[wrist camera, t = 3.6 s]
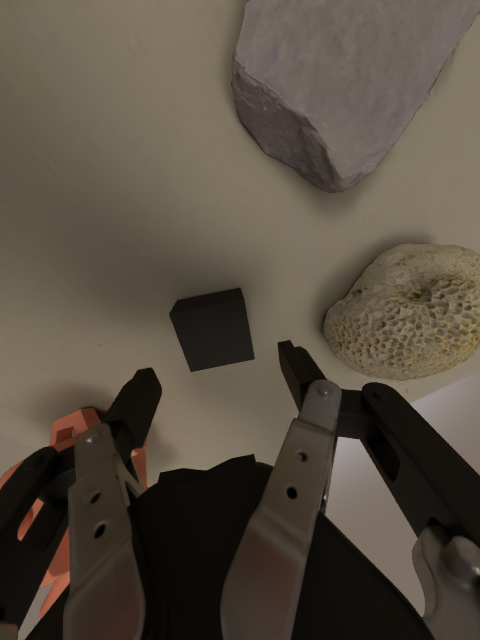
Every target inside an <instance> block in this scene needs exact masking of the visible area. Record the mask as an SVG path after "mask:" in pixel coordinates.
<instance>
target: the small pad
mask: <svg viewBox="0 0 480 640" xmlns="http://www.w3.org/2000/svg"><path fill="white" fill-rule="evenodd" d="M169 315H170V318H171V321H172V323H173V326H174V329H175V331H176V334H177V337H178V339H179V342H180V345H181V347H182V350H183V353H184V355H185V358H186V360H187V363H188V366H189V368H190V371H191V372H194V371H198V370H203V369H208V368H213V367H218V366H223V365H228V364H233V363H238V362H243V361H248V360H253V359H255V358H254V352H253V347H252V341H251V335H250V329H249V324H248V318H247V312H246V307H245V301H244V297H243V294H242V291H241V288H235V289H230V290H225V291H220V292H215V293H210V294H205V295H200V296H195V297H190V298H185V299H180V300H177V301H176V303H175V305H174V306H173V308H172V310H171V311H170V313H169Z"/></svg>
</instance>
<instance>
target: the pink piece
mask: <svg viewBox="0 0 480 640" xmlns="http://www.w3.org/2000/svg"><path fill="white" fill-rule="evenodd" d="M100 423H101V422H100V420H99V418H98V416H97V413H96V411H95V409H94V408H87V409H79V410H77V411H75V412H73V413H71V414H69V415H67V416H65V417H63V418H61V419H59V420H57V421H54V422H53V425H52V432H51V439H50V446H53V447H54V448H55V449H56V450H57V451H58V452H59V451H61V450H63V449H65V448H68V447H70V446H72V445H74V444H76V442H77V440H78V439H79V437H80V436H81V435H82V434H83V433H84V432H85V431H87V430H88V429H89V428H91V427H93V426H95V425H97V424H100ZM72 428H74V429H75V432H76V435H77V436H75V437H72ZM145 446H146V440H145V442H144V445H143V448H139V449H134V450H133V451H132V454H131V456H132V458H133V460H134V463H135V466H136V468H137V471H138V474H139V477H140V480H141V482H142V485H143V488H144V490H145V491H146V490H147V489H148V487H147V474H146V454H145ZM24 460H25V459H24ZM24 460H22V461H21V462H19V463H18V464H16V465H15V466H13V467H12V468H10V469H9V470H8V471H6V472H5V473H4V474H3V475H2V476H1V478H0V488H1V487H2V486H3V485H4V484H5V482H6V481H7V480H8V479H9V477H10V476H11V475H12V474H13V472H14V471H15V470H16V469H17V467H18V466H19V465H20V464H21V463H22V462H23V461H24ZM43 504H44V503H43V502H42V501H41V500H39V499H38V498H37V499H36V501H35V503H34V504H33V506H32V507H31V509H30V510H29V512H28V514H27V515H26V517H25V518H24V520H23V521H22V523H21V525H20V527H19V530H18V539H19V540H20V541H21V540H22V538H23V537H24V535H25V533H26V532H27V530H28V528H29V527H30V525H31V524H32V522H33V520H34V519H35V517H36V515H37V514H38V512H39V510H40V509H41V507H42V505H43ZM54 581H55V582H54ZM52 582H54V584H53V585H52V587H51V589H50V591H49V593H48V595H47V597H46V599H45V600H44V602H43V604H42V606H41V609H40V619H41V618H42V617H43V616H44V615H45V613H46V612H47V611H48V610H49V608H50V607H51V606H52V605H53V603H54V602H55V601H56V599H57V598H58V597H59V596H60V594H61V593H62V592H63V591H64V589H65V588H66V587H67V586H68V584H69V583H70V562H69V526H68V528H67V530H66V532H65V534H64V537H63V539H62V541H61V543H60V545H59V547H58V549H57V551H56V553H55V556H54V558H53V560H52V562H51V564H50V566H49V568H48V570H47V572H46V574H45V577H44V579H43V581H42V583H41V585H40V587H39V588H42V587H45V586H46V585H48V584H50V583H52Z"/></svg>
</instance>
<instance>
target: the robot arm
mask: <svg viewBox="0 0 480 640" xmlns="http://www.w3.org/2000/svg"><path fill="white" fill-rule="evenodd" d="M278 352H279V361H280V367H281V370H282V373H283V375H284V378H285V380H286V382H287V385H288V387H289V389H290V392H291V394H292V396H293V399H294V401H295V404H296V406H297V408H298V411H299V415H298V417H297V419H296V418H294V419H293V420H292V422H291V424H290V427H289V430H288V432H287V435H286V437H285V440H284V442H283V445H282V447H281V450H280V452H279V455H278V457H277V460H276V463H275V465H274V467H273V466H270V465H268V464H265V463H261V462H256V460H255V456H254V454H251V455H246V456H241V457H236V458H231V459H229V460H227V461H225V462H223V463H221V464H219V465H217V466H215V467H213V468H211V469H209V470H195V469H186V468H181V469H176V470H171V471H166V472H161V473H160V475H159V479H158V483H156V484H154V485H153V486H151V487H149V488H148V489H147V490H146V491H145V490H144V488H143V485H142V482H141V480H140V477H139V474H138V471H137V468H136V466H135V463H134V460H133V458H132V456H131V454H132V451H133V450H134V449H139V448H143V445H144V442H145V440H146V437H147V434H148V431H149V428H150V426H151V423H152V420H153V417H154V415H155V412H156V409H157V406H158V403H159V401H160V398H161V395H162V387H161V384H160V382H159V380H158V378H157V376H156V374H155V372H154V370H153V369H152V368H151V367H150V368H145V369H140V370H137V372H136V373H135V375H134V377H133V378H132V379H131V380H129V381H128V382H127V383H126V384H125V385H124V386H123V387H122V389H121V391H120V392H119V395H117V397H116V399H115V401H114V402H113V403H112V405H111V407H110V408H109V410H108V412H107V413H106V415H105V416H104V418H103V420H102V421H101V423H100V424H97V425H95V426H93V427H91V428H89V429H88V430H87V431H85V432H84V433H83V434H82V435H81V436H80V437H79V439H78V440H77V442H76V444H74V445H72V446H70V447H68V448H65V449H63V450H61V451H59V452H58V451H57V450H56V449H55V448H54V447H53V446H47V447H44V448H42V449H39V450H38V451H36V452H34V453H33V454H32V455H30V456H29V457H27V458H26V459H25V460H24V461H23V462H22V463H21V464H20V465H19V466H18V467H17V469H16V470H15V471H14V472H13V474H12V475H11V476H10V477H9V479H8V480H7V481H6V482H5V484H4V485H3V486H2V487H1V488H0V640H18V631H19V629H20V627H21V625H22V623H23V621H24V619H25V617H26V614H27V612H28V610H29V608H30V606H31V604H32V602H33V600H34V598H35V596H36V593H37V591H38V589H39V587H40V585H41V583H42V581H43V579H44V577H45V574H46V572H47V570H48V568H49V566H50V564H51V562H52V560H53V558H54V556H55V553H56V551H57V549H58V547H59V545H60V543H61V541H62V539H63V537H64V534H65V532H66V530H67V528H68V526H69V562H70V583H69V584H68V586H67V587H66V588H65V589H64V591H63V592H62V593H61V594H60V596H59V597H58V598H57V599H56V601H55V602H54V603H53V605H52V606H51V607H50V608H49V610H48V611H47V612H46V613H45V615H44V616H43V617H42V618H41V620H40V621H39V622H38V624H37V625H36V626H35V627H34V629H33V630H32V631H31V632H30V634H29V635H28V636H27V638H26V639H25V640H480V475H479V474H478V473H477V472H476V471H475V470H474V469H473V468H472V467H471V466H470V465H469V464H468V463H467V462H466V461H465V460H464V459H463V458H462V457H461V456H460V455H459V454H458V453H457V452H456V451H455V450H454V449H453V448H452V447H451V446H450V445H449V444H448V443H447V442H446V441H445V440H444V439H443V438H442V437H441V436H440V435H439V434H438V433H437V432H436V431H435V430H434V429H433V427H431V425H429V423H428V422H427V421H426V420H424V418H423V417H422V416H421V415H420V414H419V413H418V412H417V411H416V410H415V409H414V408H413V407H412V406H411V405H410V404H409V403H408V402H407V401H406V400H405V399H404V398H403V397H402V396H401V395H400V394H399V393H398V392H397V391H396V390H395V389H393V388H392V387H390V386H388V385H385V384H382V383H377V382H371V383H367V384H365V385H364V386H363V387H362V391H359V390H346V389H341V388H339V386H338V385H336V384H335V383H333V382H331V381H329V380H327V379H326V377H325V376H324V374H323V373H322V372H321V370H320V369H319V367H318V366H317V364H316V363H315V362H314V360H313V359H312V357H311V356H310V354H309V353H308V351H307V350H305V349H304V348H302V347H300V346H299V347H294V346H293V344H292V343H291V341H290V340H287V341H282V342H278ZM338 436H339V437H346V438H354V439H360V441H361V442H362V444H363V446H364V447H365V449H366V451H367V453H368V454H369V456H370V458H371V459H372V461H373V463H374V464H375V466H376V468H377V470H378V471H379V473H380V475H381V476H382V478H383V480H384V481H385V483H386V485H387V487H388V488H389V490H390V491H391V493H392V495H393V497H394V498H395V500H396V502H397V504H398V505H399V507H400V509H401V510H402V512H403V514H404V516H405V517H406V519H407V521H408V522H409V524H410V526H411V527H412V529H413V531H414V532H415V534H416V536H417V538H418V539H417V541H416V543H415V544H414V547H413V550H412V560H413V565H414V568H415V571H416V573H417V575H418V578H419V580H420V583H421V585H422V589H423V592H424V597H425V613H424V616H423V617H421V616H420V615H419V614H418V612H417V611H416V609H415V608H414V607H413V606H412V604H411V603H410V602H409V601H408V599H407V598H406V597H405V596H404V595H403V594H402V593H401V592H400V591H399V589H398V588H397V587H395V585H393V583H392V582H391V581H390V580H389V579H388V578H387V577H386V576H385V575H384V574H383V573H382V572H381V571H380V570H379V569H378V568H377V567H376V566H375V565H374V564H373V563H372V562H371V561H370V560H369V559H368V558H367V557H366V556H365V555H364V554H363V553H362V552H361V551H360V550H359V549H358V548H357V547H356V546H355V545H354V544H353V543H352V542H351V541H350V540H349V539H348V538H347V537H346V536H345V535H344V534H343V533H342V532H341V531H340V530H339V529H338V528H337V527H336V526H335V525H334V524H333V523H332V522H331V521H330V520H329V519H328V518H327V517H326V516H325V513H326V507H327V501H328V496H329V489H330V482H331V474H332V468H333V463H334V457H335V451H336V445H337V440H338ZM37 498H38V499H39V500H41V501H42V502H43V503H44V504H43V505H42V507H41V509H40V510H39V512H38V514H37V515H36V517H35V519H34V520H33V522H32V524H31V525H30V527H29V528H28V530H27V532H26V533H25V535H24V537H23V538H22V540H21V541H20V540H19V539H18V530H19V527H20V525H21V523H22V521H23V520H24V518H25V517H26V515H27V514H28V512H29V510H30V509H31V507H32V506H33V504H34V503H35V501H36V499H37Z"/></svg>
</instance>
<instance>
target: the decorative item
mask: <svg viewBox="0 0 480 640" xmlns="http://www.w3.org/2000/svg"><path fill="white" fill-rule="evenodd" d="M323 326H324V335H325V336H326V338H327V341H328V342H329V346H330V348H331V350H332V351H333V352H334V354H335V355H336V356H337V357H338V358H339V359H340V360H342V361H343V362H344V363H345V364H346V365H347V366H349V367H351V368H352V369H354V370H355V371H357V372H360V373H362V374H364V375H366V376H369V377H375V378H384V379H390V380H400V381H404V380H409V379H418V378H422V377H426V376H430V375H433V374H436V373H439V372H441V371H445V370H449V369H450V368H452V367H454V366H456V365H457V364H459V363H462V362H464V361H465V360H467V359H468V358H470V357H471V356H473V355H474V351H475V349H476V348H477V346H478V343H479V341H480V256H479V255H478V254H477V253H475V252H474V251H472V250H470V249H467V248H464V247H460V246H456V245H443V246H442V245H431V244H414V243H404V244H400V245H398V246H395V247H393V248H391V249H390V250H387V251H385V252H383V253H382V254H380V255H379V256H378V257H377V258H376V259H375V260H374V262H373V263H372V264H371V265H370V266H368V267H367V268H366V269H365V270H364V272H363V273H362V275H361V277H360V278H359V279H358V280H357V281H356V282H355V284H354V286H353V287H352V289H351V290H350V291H349V293H348V294H347V296H346V297H345V298H344V299H342V300H339V301H337V302H336V303H335V304H334V305H333V306H332V307H331V308H330V309H329V310H328V311H327V314H326V317H325V321H324V324H323Z"/></svg>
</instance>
